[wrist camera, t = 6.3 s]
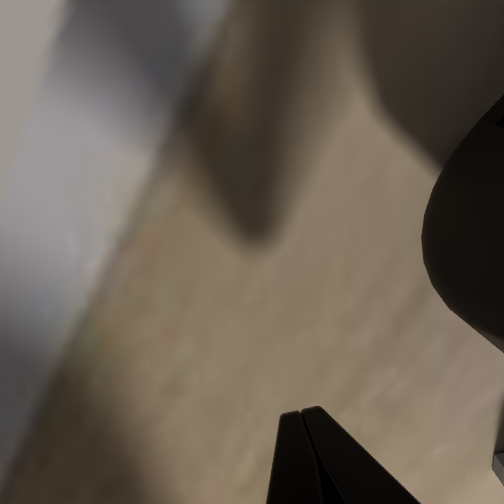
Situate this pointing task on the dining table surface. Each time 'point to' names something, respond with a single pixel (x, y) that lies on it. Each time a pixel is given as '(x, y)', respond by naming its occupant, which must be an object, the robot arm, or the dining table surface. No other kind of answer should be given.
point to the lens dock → (499, 466)
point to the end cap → (470, 229)
